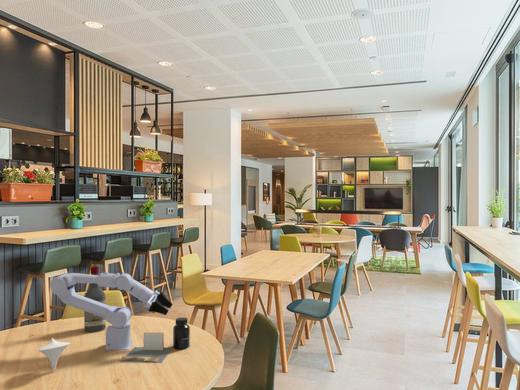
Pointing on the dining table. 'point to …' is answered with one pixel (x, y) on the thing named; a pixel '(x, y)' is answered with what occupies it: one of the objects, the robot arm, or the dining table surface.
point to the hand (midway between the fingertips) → (169, 309)
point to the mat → (147, 354)
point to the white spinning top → (53, 351)
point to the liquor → (95, 293)
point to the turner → (140, 359)
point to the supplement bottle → (181, 334)
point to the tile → (153, 340)
